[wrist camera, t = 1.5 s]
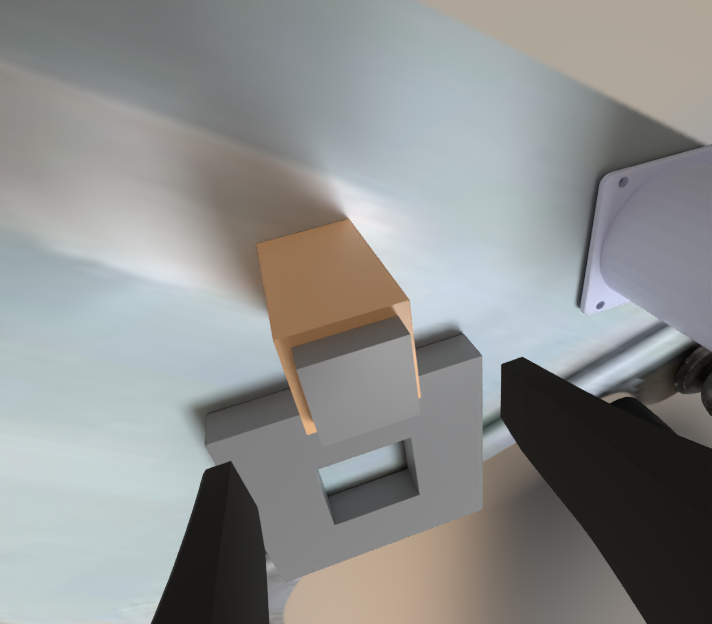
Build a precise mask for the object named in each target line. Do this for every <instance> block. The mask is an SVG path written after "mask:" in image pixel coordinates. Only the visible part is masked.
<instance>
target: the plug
mask: <svg viewBox="0 0 712 624" xmlns="http://www.w3.org/2000/svg"><path fill="white" fill-rule="evenodd" d="M256 246H257V252H258V257H259V263H260V269H261V275H262V280H263V286H264V292H265V297H266V303H267V309H268V314H269V320H270V326H271V331H272V337H273V342H274V345H275V347H276V350H277V353H278V356H279V358H280V361H281V364H282V367H283V370H284V372H285V375H286V378H287V381H288V384H289V386H290V389H291V392H292V395H293V397H294V400H295V403H296V406H297V409H298V411H299V414H300V417H301V420H302V422H303V425H304V428H305V431H306V434H307V435H309V434H312V433H316V432H317V433H318V436H319V439H320V442H321V445H322V447H324V446H327V445H330V444H333V443H336V442H339V441H342V440H345V439H348V438H351V437H354V436H357V435H360V434H363V433H366V432H369V431H372V430H375V429H378V428H381V427H384V426H387V425H390V424H393V423H396V422H399V421H402V420H405V419H408V418H411V417H414V416H417V415H420V407H419V399H418V398H421V393H420V385H419V376H418V368H417V359H416V351H415V342H414V334H413V325H412V317H411V308H410V300H409V299H408V297H407V296H406V295H405V293H404V292H403V291H402V289H401V288H400V286H399V285H398V284H397V282H396V281H395V280H394V278H393V277H392V276H391V274H390V273H389V272H388V270H387V269H386V268H385V266H384V265H383V264H382V262H381V261H380V260H379V258H378V257H377V256H376V254H375V253H374V252H373V250H372V249H371V248H370V246H369V245H368V244H367V242H366V241H365V240H364V238H363V237H362V235H361V234H360V233H359V231H358V230H357V229H356V227H355V226H354V225H353V223H352V222H351V221H350V219H347V220H343V221H339V222H336V223H332V224H328V225H324V226H321V227H317V228H313V229H310V230H306V231H302V232H298V233H295V234H291V235H287V236H284V237H280V238H276V239H272V240H269V241H265V242H261V243H257V244H256Z"/></svg>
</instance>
